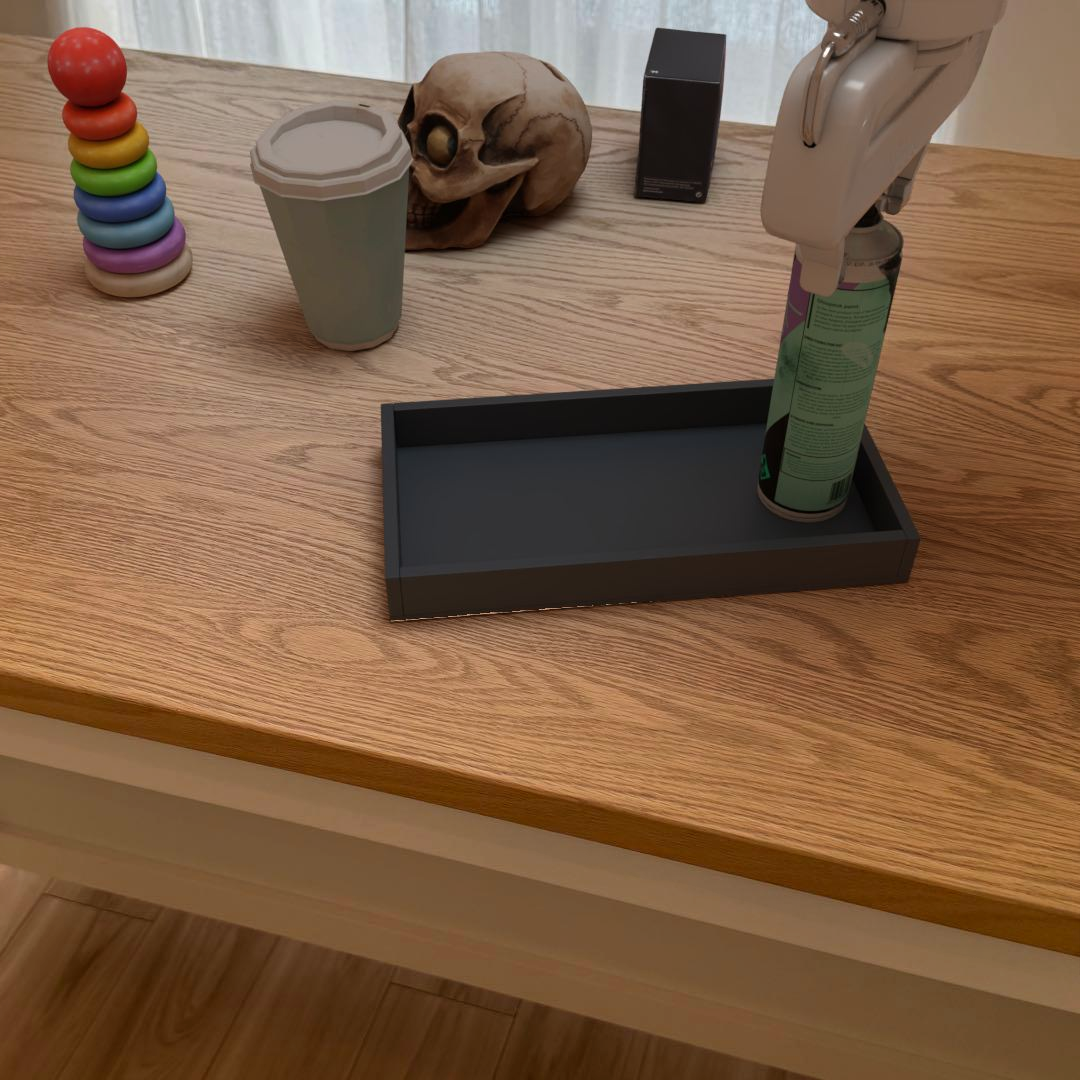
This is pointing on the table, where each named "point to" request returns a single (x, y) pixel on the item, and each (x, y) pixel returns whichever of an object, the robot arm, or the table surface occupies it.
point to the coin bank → (489, 145)
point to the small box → (680, 114)
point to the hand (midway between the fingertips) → (855, 245)
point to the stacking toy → (115, 172)
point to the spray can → (828, 376)
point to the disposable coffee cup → (339, 215)
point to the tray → (612, 504)
